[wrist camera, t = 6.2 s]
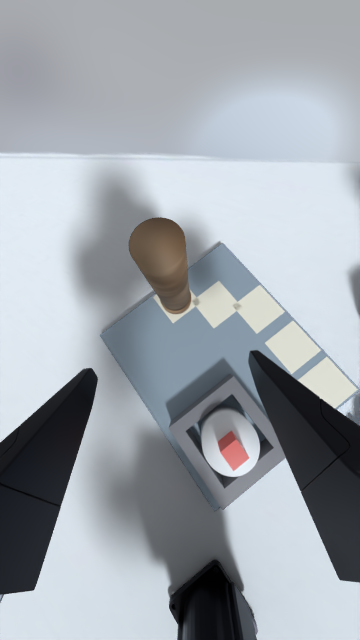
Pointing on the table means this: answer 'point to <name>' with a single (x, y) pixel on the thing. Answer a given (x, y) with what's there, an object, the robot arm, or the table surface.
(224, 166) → the table surface
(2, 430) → the table surface
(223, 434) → the dome button
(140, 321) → the board
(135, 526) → the table surface
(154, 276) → the brown wooden cylinder
